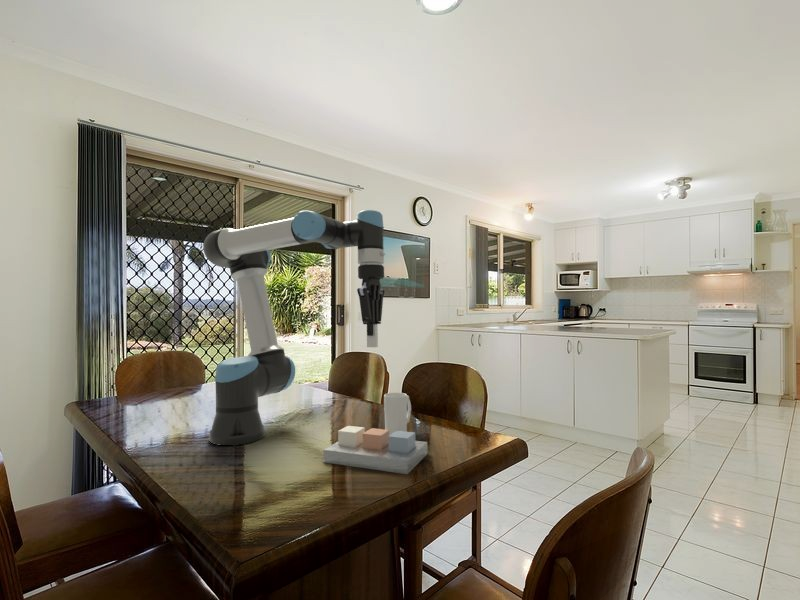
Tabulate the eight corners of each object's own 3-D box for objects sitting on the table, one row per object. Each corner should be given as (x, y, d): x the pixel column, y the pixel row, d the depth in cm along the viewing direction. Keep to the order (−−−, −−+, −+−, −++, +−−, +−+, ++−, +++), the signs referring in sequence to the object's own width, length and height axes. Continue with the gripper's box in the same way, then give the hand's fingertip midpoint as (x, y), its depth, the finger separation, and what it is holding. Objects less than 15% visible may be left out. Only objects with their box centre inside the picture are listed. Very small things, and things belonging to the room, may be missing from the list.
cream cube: (338, 450, 103) (338, 430, 103) (348, 444, 107) (347, 425, 108) (355, 453, 101) (355, 432, 101) (365, 446, 106) (364, 427, 106)
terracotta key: (362, 454, 100) (362, 433, 100) (371, 447, 105) (371, 428, 105) (381, 456, 98) (380, 435, 98) (389, 449, 103) (389, 429, 103)
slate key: (388, 457, 97) (388, 436, 98) (397, 450, 102) (396, 430, 102) (408, 459, 96) (407, 438, 96) (415, 453, 100) (415, 432, 100)
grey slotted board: (323, 462, 99) (323, 449, 99) (351, 444, 112) (351, 433, 112) (407, 474, 91) (407, 460, 91) (427, 453, 104) (427, 441, 104)
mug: (396, 441, 115) (395, 398, 115) (379, 436, 119) (379, 395, 120) (419, 432, 122) (418, 392, 122) (403, 428, 127) (402, 390, 127)
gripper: (372, 261, 110) (373, 349, 109) (392, 266, 122) (393, 345, 121) (348, 263, 113) (349, 348, 112) (369, 268, 125) (371, 345, 124)
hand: (372, 347), depth 117 cm, fingers closed
